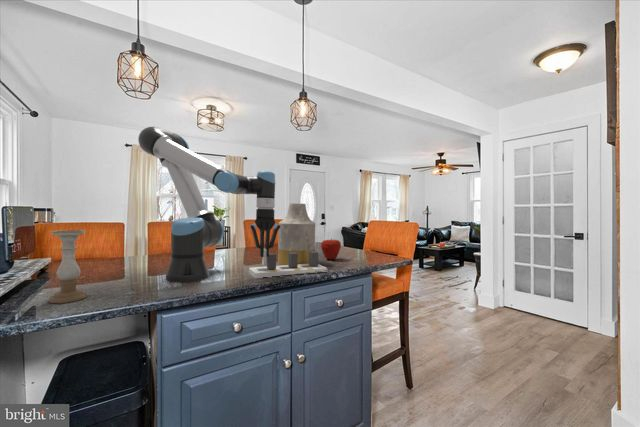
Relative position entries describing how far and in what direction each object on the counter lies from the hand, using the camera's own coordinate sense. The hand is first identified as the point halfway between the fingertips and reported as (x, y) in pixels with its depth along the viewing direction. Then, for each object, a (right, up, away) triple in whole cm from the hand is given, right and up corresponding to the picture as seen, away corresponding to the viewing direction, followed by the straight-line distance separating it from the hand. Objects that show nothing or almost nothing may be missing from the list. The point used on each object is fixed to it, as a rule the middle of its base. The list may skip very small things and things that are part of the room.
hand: (264, 264), depth 125 cm
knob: (+21, -2, +10) cm, 23 cm away
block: (+3, -2, +2) cm, 4 cm away
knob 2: (+12, -2, +6) cm, 13 cm away
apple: (+29, -4, +38) cm, 48 cm away
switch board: (+10, -4, +5) cm, 12 cm away
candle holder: (-51, -4, -36) cm, 63 cm away
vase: (+12, -4, +25) cm, 27 cm away
